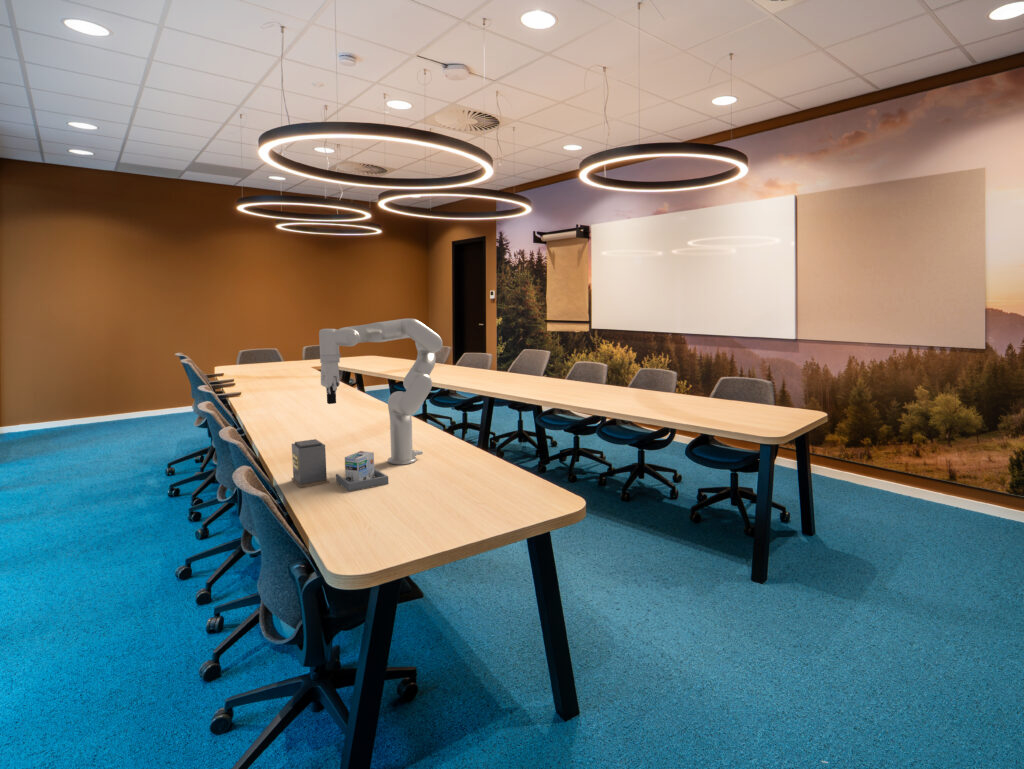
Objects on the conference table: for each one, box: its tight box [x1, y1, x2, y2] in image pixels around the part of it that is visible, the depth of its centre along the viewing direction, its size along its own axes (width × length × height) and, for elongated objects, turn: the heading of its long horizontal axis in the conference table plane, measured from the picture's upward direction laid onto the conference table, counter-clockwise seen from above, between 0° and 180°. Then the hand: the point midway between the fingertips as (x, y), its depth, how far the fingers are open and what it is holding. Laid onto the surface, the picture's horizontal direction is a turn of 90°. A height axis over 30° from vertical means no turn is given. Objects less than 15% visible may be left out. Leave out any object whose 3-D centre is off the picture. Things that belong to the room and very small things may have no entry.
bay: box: [335, 467, 389, 492], centre depth 211 cm, size 16×15×3 cm
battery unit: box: [290, 438, 330, 489], centre depth 212 cm, size 11×12×16 cm
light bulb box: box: [344, 450, 375, 483], centre depth 213 cm, size 11×7×11 cm, turn 160°
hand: (331, 403), depth 222 cm, fingers closed
